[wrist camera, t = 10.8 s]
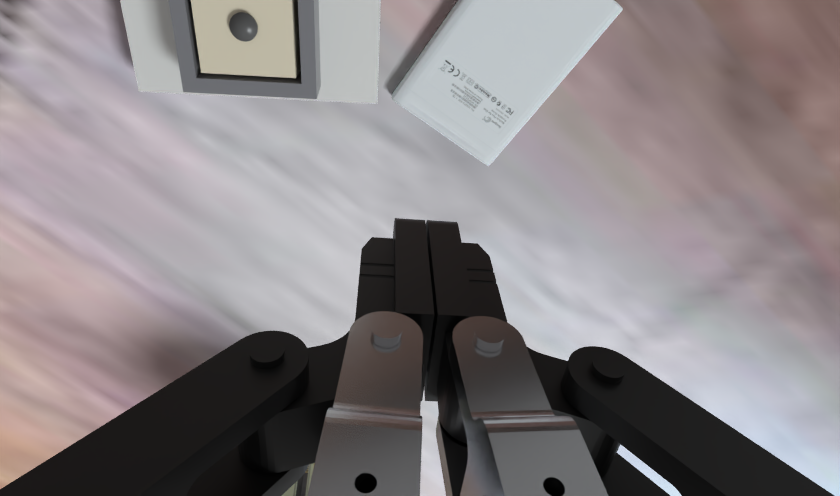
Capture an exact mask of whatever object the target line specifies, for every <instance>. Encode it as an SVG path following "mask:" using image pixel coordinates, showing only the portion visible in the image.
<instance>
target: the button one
mask: <svg viewBox="0 0 840 496" xmlns="http://www.w3.org/2000/svg"><path fill="white" fill-rule="evenodd" d="M191 5H192V12H193V19H194V26H195V33H196V40H197V47H198V54H199V61H200V68H201V73H212V74H230V75H248V76H266V77H284V78H296V77H297V74H298V72H299V70H300V68H301V60H300V38H299V16H298V0H191Z"/></svg>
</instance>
